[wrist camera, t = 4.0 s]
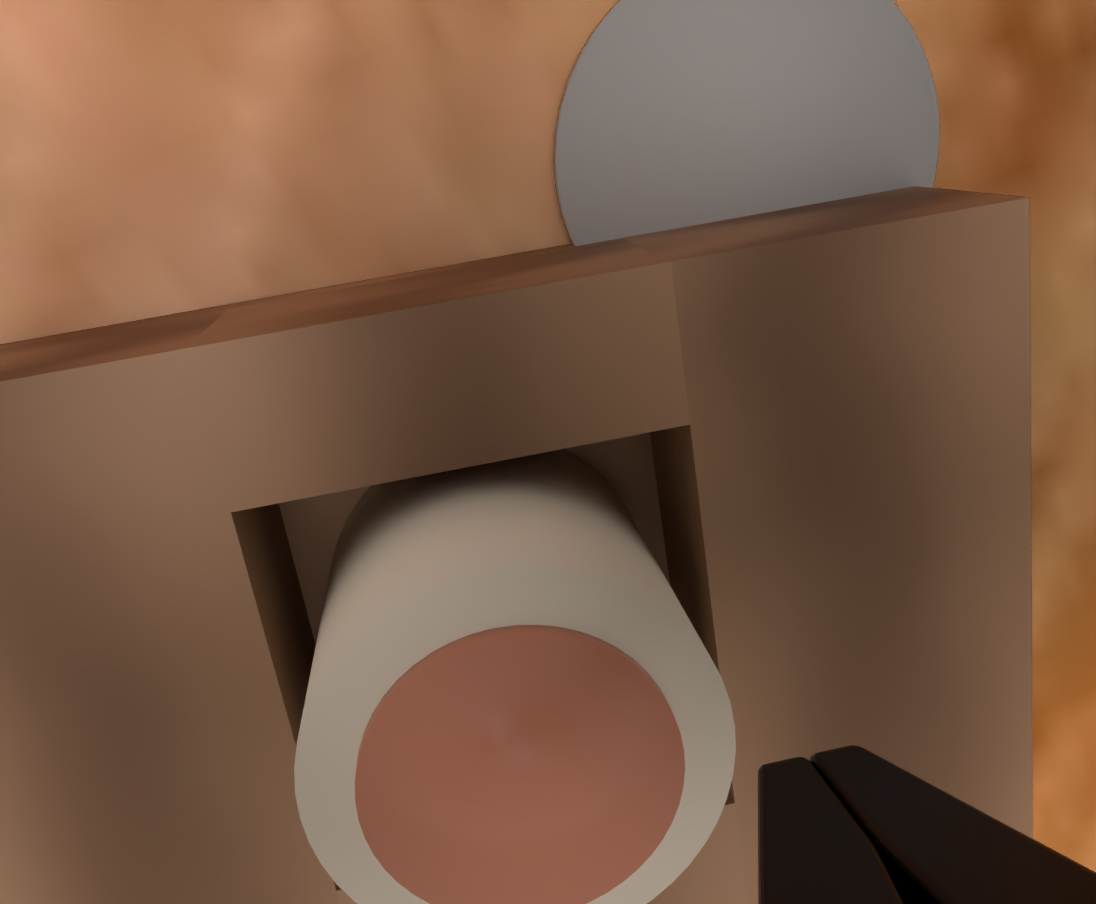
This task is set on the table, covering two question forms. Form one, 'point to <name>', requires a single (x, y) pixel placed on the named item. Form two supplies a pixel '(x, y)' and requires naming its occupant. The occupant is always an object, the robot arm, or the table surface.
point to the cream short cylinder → (507, 698)
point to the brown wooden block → (505, 433)
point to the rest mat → (739, 112)
